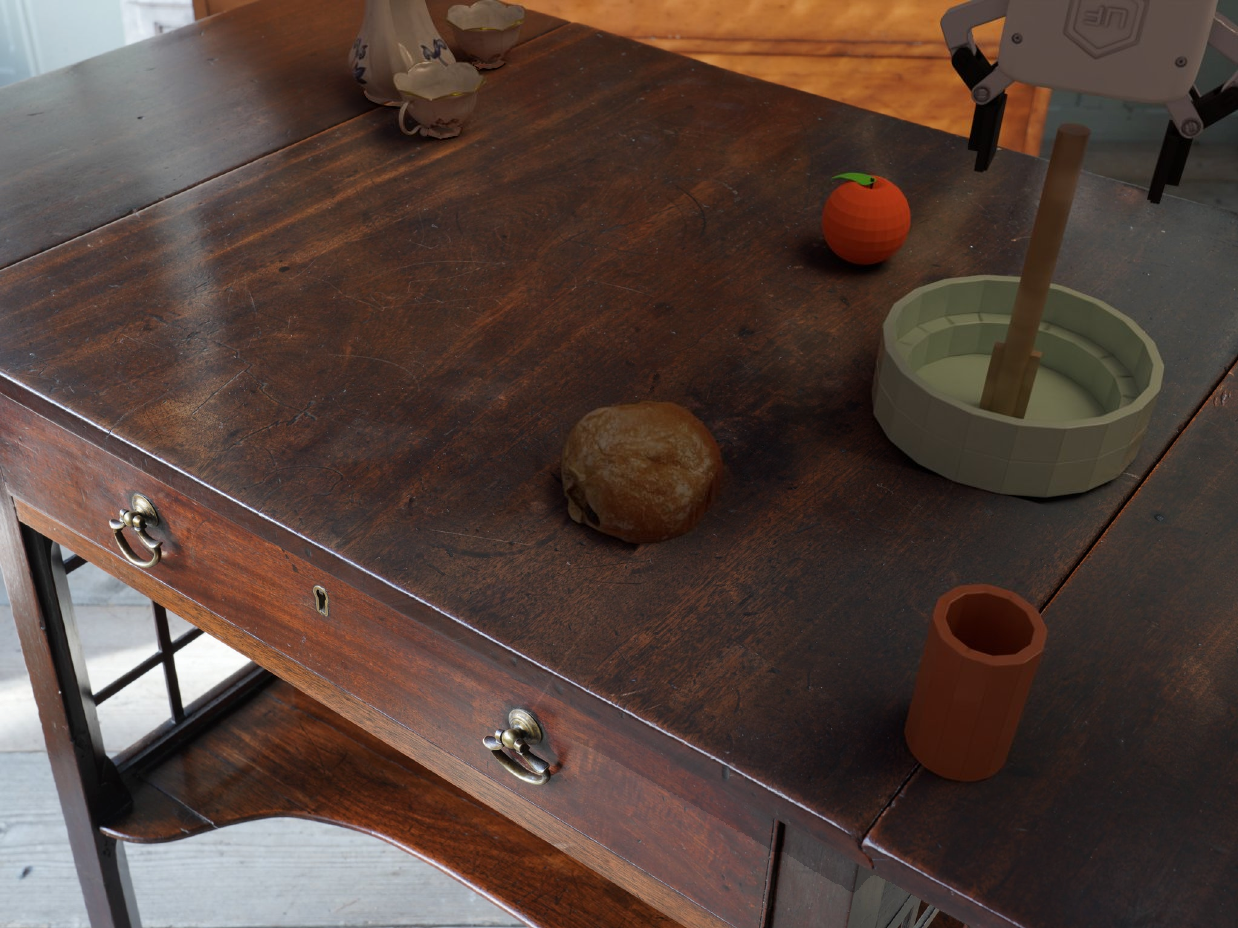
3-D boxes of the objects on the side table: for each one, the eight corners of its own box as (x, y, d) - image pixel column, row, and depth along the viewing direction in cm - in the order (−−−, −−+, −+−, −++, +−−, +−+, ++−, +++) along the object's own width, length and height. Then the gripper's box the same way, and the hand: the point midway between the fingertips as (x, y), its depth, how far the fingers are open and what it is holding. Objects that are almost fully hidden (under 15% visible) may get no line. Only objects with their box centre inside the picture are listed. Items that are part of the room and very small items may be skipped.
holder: (1013, 726, 62) (1054, 603, 56) (994, 802, 59) (1036, 679, 53) (916, 694, 64) (947, 571, 58) (892, 767, 60) (922, 643, 54)
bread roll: (551, 523, 79) (507, 461, 73) (646, 406, 82) (612, 336, 75) (667, 597, 74) (631, 538, 67) (765, 469, 76) (739, 401, 70)
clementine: (789, 255, 99) (798, 175, 94) (837, 225, 103) (848, 146, 98) (873, 290, 95) (886, 208, 90) (919, 257, 99) (934, 176, 94)
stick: (1027, 409, 82) (1104, 127, 69) (1022, 424, 81) (1099, 140, 68) (982, 398, 83) (1050, 118, 70) (976, 412, 82) (1045, 130, 69)
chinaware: (488, 172, 114) (497, -8, 103) (311, 147, 113) (301, -36, 103) (528, 59, 135) (538, -99, 125) (379, 38, 135) (376, -122, 124)
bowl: (1149, 382, 86) (1175, 309, 82) (1119, 535, 73) (1148, 457, 70) (905, 325, 91) (919, 254, 87) (840, 458, 79) (851, 383, 75)
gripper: (956, -145, 60) (905, 177, 71) (1342, -107, 55) (1223, 236, 65) (986, -175, 65) (934, 129, 76) (1340, -143, 60) (1231, 179, 71)
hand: (1067, 178), depth 71 cm, fingers open, 9 cm apart
